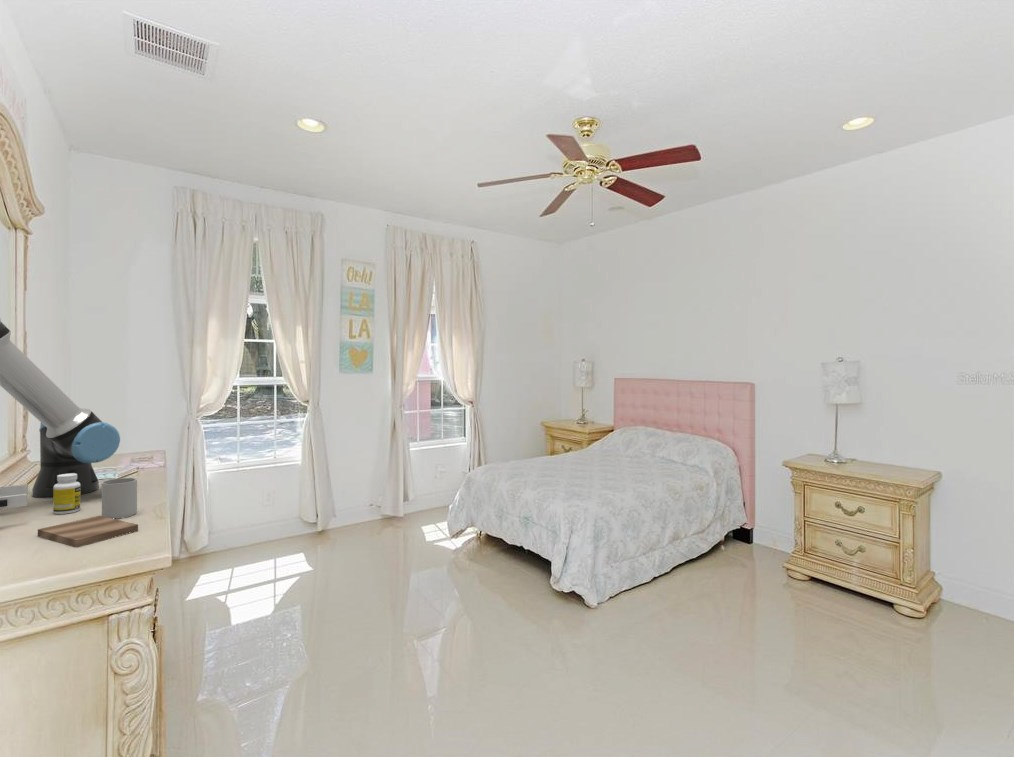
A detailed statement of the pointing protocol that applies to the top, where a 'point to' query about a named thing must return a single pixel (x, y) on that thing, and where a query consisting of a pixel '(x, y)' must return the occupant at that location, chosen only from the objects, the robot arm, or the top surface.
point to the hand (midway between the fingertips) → (27, 494)
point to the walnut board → (87, 530)
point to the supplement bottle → (66, 494)
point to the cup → (119, 497)
